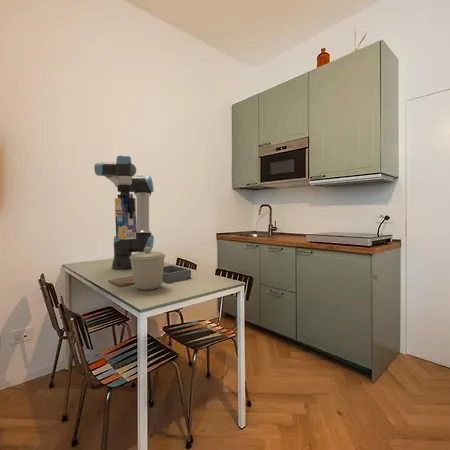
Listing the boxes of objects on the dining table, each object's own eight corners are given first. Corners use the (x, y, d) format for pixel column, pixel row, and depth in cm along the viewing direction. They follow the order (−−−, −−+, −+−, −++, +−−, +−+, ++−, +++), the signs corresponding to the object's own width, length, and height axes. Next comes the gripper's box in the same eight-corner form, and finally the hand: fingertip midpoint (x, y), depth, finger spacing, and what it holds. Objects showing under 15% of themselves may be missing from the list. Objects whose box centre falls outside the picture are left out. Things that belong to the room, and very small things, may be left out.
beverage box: (127, 237, 167) (126, 198, 166) (136, 238, 159) (135, 198, 158) (116, 238, 162) (114, 198, 161) (124, 239, 154) (123, 197, 153)
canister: (143, 294, 137) (142, 250, 136) (123, 288, 149) (121, 247, 148) (173, 286, 151) (172, 246, 150) (152, 281, 162) (151, 243, 161)
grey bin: (149, 277, 173) (149, 268, 173) (172, 272, 184) (172, 265, 183) (166, 283, 158) (166, 274, 158) (191, 278, 169) (190, 269, 169)
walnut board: (108, 281, 163) (108, 280, 163) (132, 277, 172) (132, 276, 172) (119, 287, 151) (119, 285, 151) (144, 282, 160) (144, 280, 160)
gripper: (109, 185, 165) (110, 224, 166) (127, 182, 148) (128, 225, 149) (122, 186, 170) (123, 223, 171) (141, 183, 153) (142, 225, 154)
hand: (125, 224), depth 160 cm, fingers closed on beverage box, 11 cm apart
